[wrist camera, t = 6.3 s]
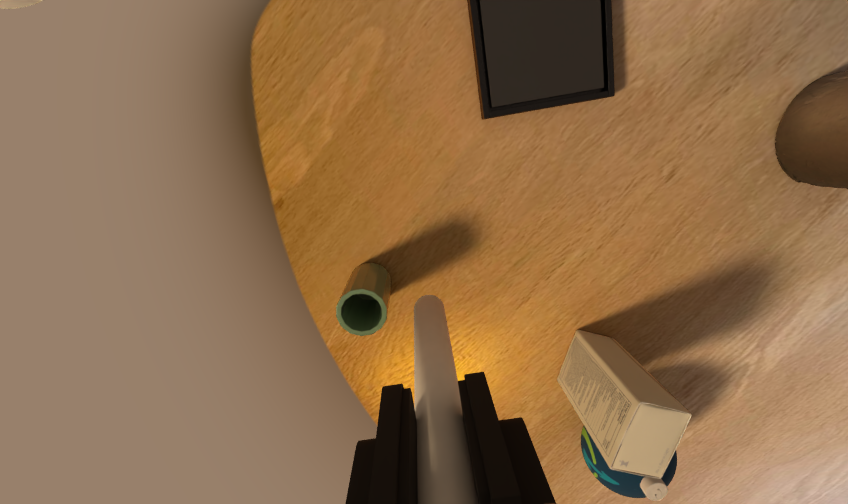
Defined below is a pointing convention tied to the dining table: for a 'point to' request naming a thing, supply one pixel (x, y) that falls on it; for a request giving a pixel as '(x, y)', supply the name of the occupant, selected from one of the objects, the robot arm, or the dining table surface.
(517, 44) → the screen
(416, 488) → the robot arm
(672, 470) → the christmas ornament
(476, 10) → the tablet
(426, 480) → the stylus
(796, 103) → the pillar candle
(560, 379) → the cosmetic box
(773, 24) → the dining table surface
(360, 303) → the pen pot
